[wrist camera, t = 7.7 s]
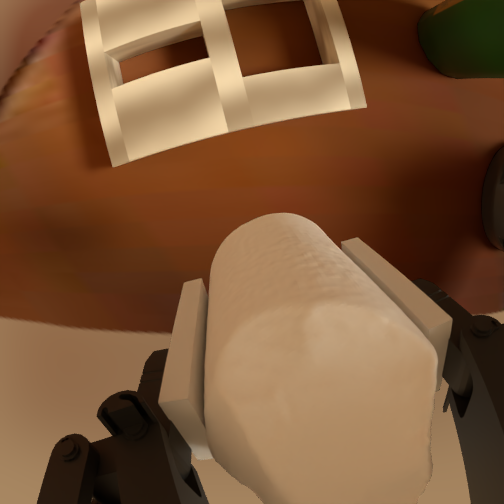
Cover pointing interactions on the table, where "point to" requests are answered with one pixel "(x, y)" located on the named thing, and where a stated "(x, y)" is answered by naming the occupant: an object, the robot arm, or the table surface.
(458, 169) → the table surface
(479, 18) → the bottle
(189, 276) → the table surface
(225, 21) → the socket board
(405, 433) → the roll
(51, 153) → the table surface
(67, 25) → the table surface
